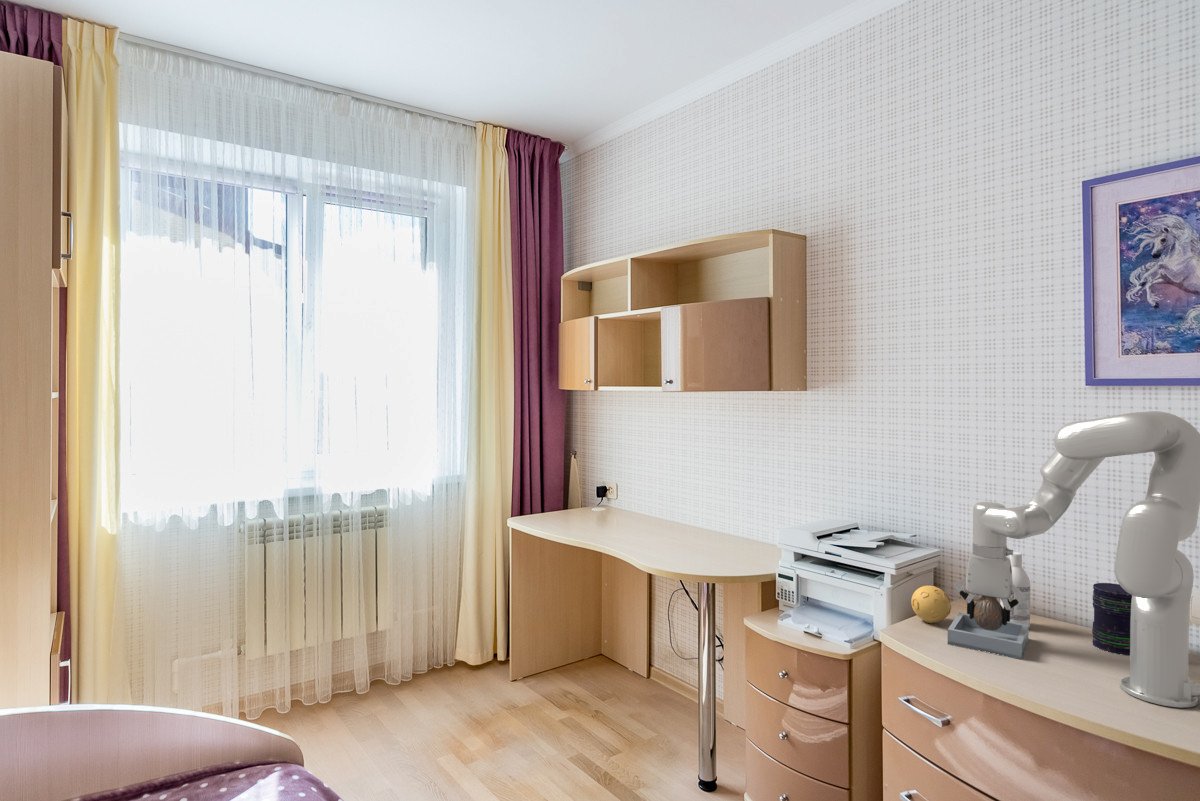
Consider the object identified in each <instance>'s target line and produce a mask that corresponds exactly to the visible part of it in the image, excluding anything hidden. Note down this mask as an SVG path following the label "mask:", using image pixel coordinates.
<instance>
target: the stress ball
mask: <svg viewBox="0 0 1200 801" xmlns="http://www.w3.org/2000/svg"><path fill="white" fill-rule="evenodd" d="M949 597H950V596H948V595H947V594H946V592H945V591H944V590H942V589H941V588H939V587H937V586H934V585H922V586H920V587H919V588H917V589H916V590H915V591H914V592H913V593H912V595H911V600H910V602H911V607H912V610H913V612H914V613H915V615H916V616H917V617H919V618H920V619H921V620H923V621H924V622H925V623H927V624H932V623H934V624H937V623H940V622H942V621H944V620H945V619H946V618H947V617H948V616H950V613H951V610H952V604H951V599H950V598H949Z"/></svg>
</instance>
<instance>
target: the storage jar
mask: <svg viewBox="0 0 1200 801" xmlns="http://www.w3.org/2000/svg"><path fill="white" fill-rule="evenodd" d="M1092 589H1093V591H1092V607H1093V622H1092V629H1091V634H1092V643H1093V644H1092V646H1094V647H1095V648H1096V647H1097V648H1096V649H1098V648H1099V649H1098V650H1101V651H1103V650H1104V652H1106V651H1108V652H1107V653H1110V652H1111V653H1110V654H1114V653H1116V654H1115V655H1120V654H1122V655H1121V656H1129V655H1130V622H1131V600H1132V595H1131V594H1129V593H1128V592H1126V591H1125V590H1124V589H1123V588H1122V587H1121V586H1120V584H1119V583H1112V582H1111V583H1110V582H1100V583H1099V582H1096V583H1094V584H1093V585H1092Z"/></svg>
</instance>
